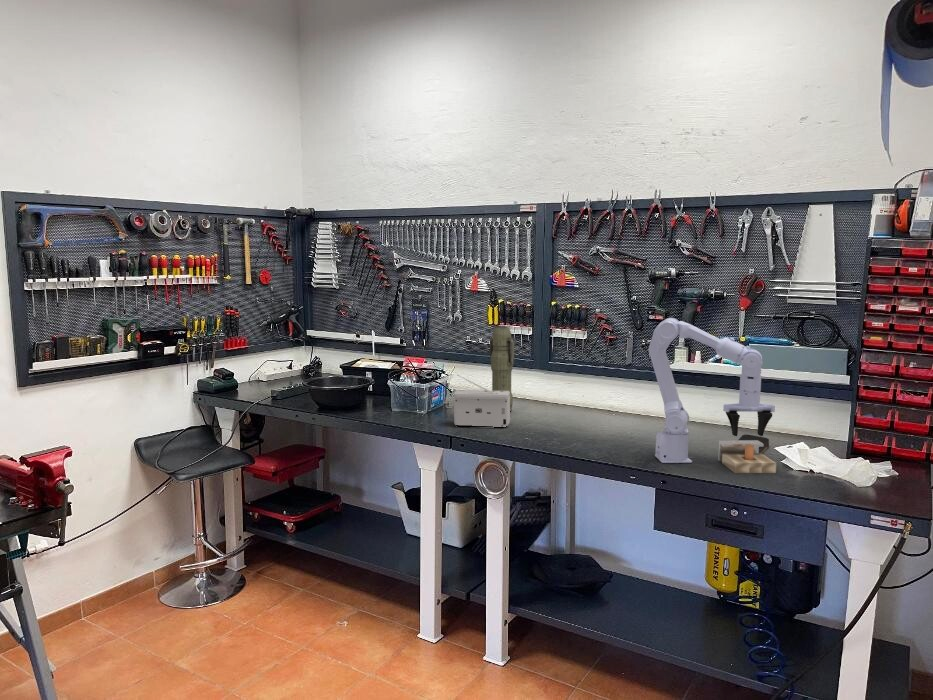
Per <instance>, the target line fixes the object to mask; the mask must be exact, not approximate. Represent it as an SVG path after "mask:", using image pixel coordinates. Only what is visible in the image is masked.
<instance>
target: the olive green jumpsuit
mask: <svg viewBox="0 0 933 700" xmlns="http://www.w3.org/2000/svg"><path fill="white" fill-rule="evenodd" d="M489 361H490V369H491V373H492V374H491V377H492V378H491V381H492V382H491V383H492V384H491V391H509V392H510V411H512V412H513V405H514V404H513V401H514V400H513V396H514V395H513V394H512V371H513V367H514V364H515V341H514V339H513V338H512V332H511V328H510V327H508V326H507V325H497V326H496V327H495V326H494V328H493V331H492V337H491V338H490V339H489Z"/></svg>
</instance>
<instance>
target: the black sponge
mask: <svg viewBox="0 0 933 700" xmlns="http://www.w3.org/2000/svg"><path fill="white" fill-rule="evenodd" d="M738 440H758V441H760V442H761V443H763V444H764V447H759V452H758V453H761V454H763V452H765V451H766V450H768V449H769V447H770V439H769V438H767V437H764V436H760V435H753V434H746V433H745V434H743V435H741V436H740V437H739V439H738Z"/></svg>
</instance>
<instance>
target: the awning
mask: <svg viewBox="0 0 933 700" xmlns="http://www.w3.org/2000/svg"><path fill="white" fill-rule="evenodd" d="M746 444H750V445H754V453H758V452H759V447H764V444H763V443H761V442H760V441H758V440H739V439H737V440H736V439H735V440H732V439H731V440H718V454H717V455H718V456H717V458H718V459H717V460H718V462H722V454H745V445H746Z"/></svg>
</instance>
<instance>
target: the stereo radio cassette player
mask: <svg viewBox="0 0 933 700" xmlns="http://www.w3.org/2000/svg"><path fill="white" fill-rule="evenodd" d="M456 376H457V377H460V378H461V379H464V380H466V381H467V382H468V383H471V384H473V385H475V386H477V387H479V388H480V389H482V390H479V389H477V390H475V389H474V390H473V389H457V390H454V393H453V422H454V423H453V424H454V425H455V426H456V425H472V426H493V427H492V428H494V427H506V426H507V427H508V426H509V425H510V422H511V412H510V392H509V391H492V390H488V389H487V388H485V387H483V386H482V385H479V384H478V383H476V382H473V381H471V380H470V379H467V378H465V377H463V376H461V375H459V374H457V375H456ZM507 427H506V428H507Z"/></svg>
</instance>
